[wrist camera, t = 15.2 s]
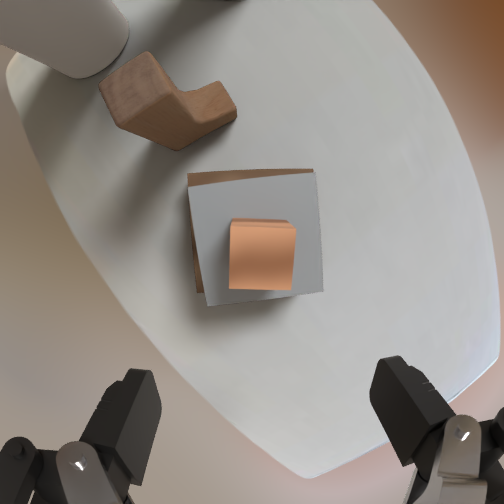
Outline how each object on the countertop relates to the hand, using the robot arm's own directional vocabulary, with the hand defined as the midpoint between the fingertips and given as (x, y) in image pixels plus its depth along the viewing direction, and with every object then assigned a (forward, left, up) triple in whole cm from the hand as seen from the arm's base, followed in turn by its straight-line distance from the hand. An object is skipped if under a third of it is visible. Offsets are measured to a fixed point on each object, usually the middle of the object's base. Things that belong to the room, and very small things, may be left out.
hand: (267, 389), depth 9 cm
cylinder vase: (-31, -23, -28) cm, 48 cm away
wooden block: (-15, -6, -28) cm, 33 cm away
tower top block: (-1, +1, -24) cm, 24 cm away
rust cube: (-1, +1, -18) cm, 19 cm away
